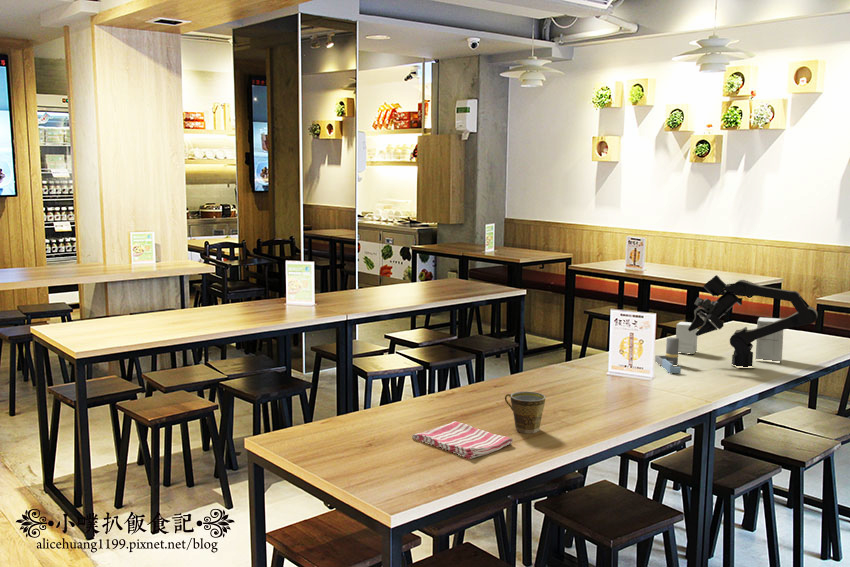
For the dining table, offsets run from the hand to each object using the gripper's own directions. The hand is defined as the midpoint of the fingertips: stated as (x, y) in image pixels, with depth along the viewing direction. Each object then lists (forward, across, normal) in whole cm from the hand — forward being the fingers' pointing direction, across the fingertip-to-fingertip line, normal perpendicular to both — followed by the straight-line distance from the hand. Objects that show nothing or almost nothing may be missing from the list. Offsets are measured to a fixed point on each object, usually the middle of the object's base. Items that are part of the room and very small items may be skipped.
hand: (692, 332), depth 297 cm
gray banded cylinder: (+14, 0, +4) cm, 15 cm away
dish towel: (+74, +94, -55) cm, 132 cm away
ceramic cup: (+61, +82, -43) cm, 111 cm away
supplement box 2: (-15, -9, +33) cm, 37 cm away
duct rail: (+16, +5, +2) cm, 17 cm away
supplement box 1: (+6, -22, +13) cm, 26 cm away
